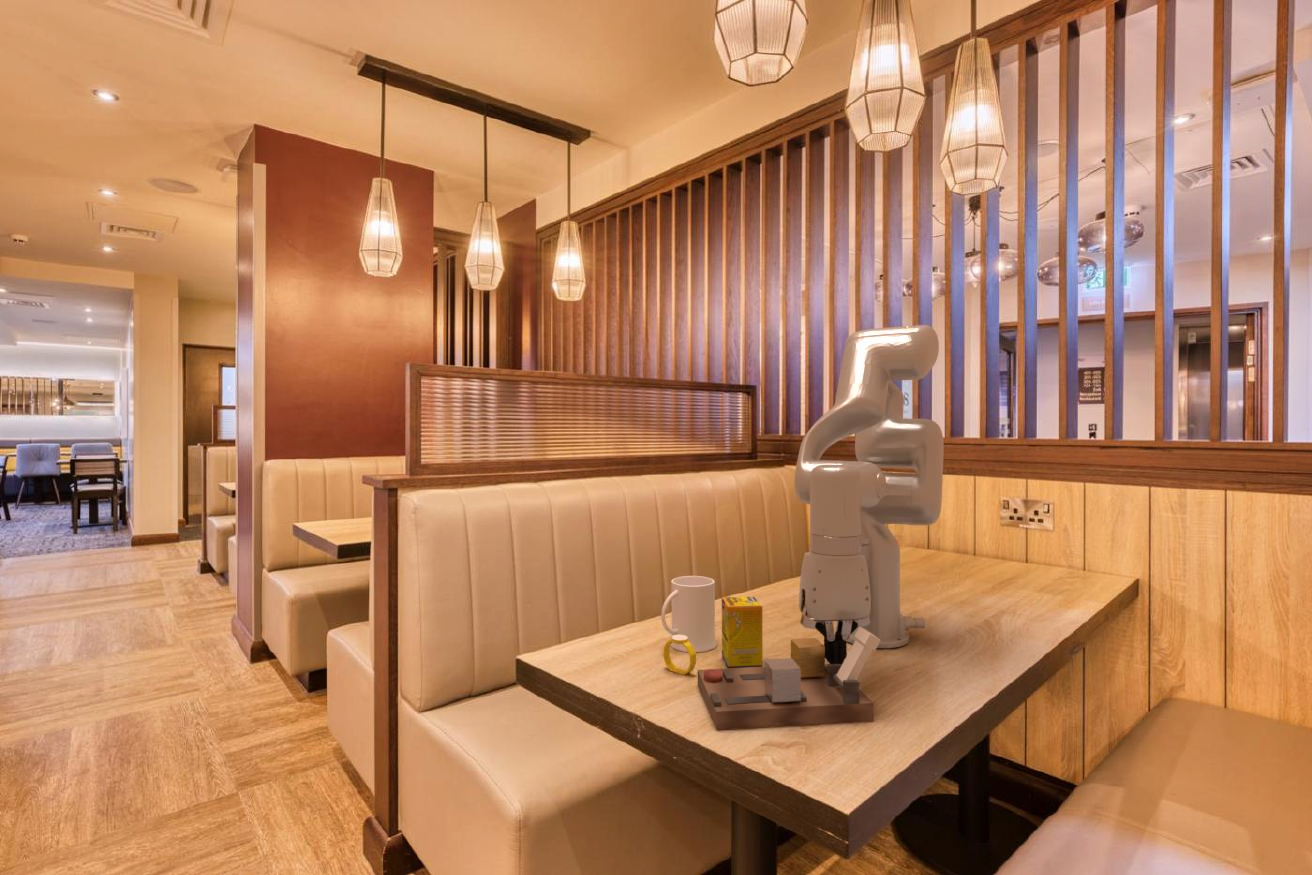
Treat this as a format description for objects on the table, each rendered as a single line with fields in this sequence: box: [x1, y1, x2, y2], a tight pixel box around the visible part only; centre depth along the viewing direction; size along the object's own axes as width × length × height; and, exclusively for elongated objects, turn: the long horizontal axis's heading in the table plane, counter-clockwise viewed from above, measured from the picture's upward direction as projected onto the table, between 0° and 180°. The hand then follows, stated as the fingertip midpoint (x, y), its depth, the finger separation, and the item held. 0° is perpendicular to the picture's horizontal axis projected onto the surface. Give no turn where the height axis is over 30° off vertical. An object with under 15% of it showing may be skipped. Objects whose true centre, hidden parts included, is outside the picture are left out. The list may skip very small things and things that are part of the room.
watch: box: [662, 635, 697, 676], centre depth 108 cm, size 6×3×6 cm, turn 51°
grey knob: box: [763, 657, 801, 702], centre depth 92 cm, size 4×4×4 cm
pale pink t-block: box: [833, 626, 881, 689], centre depth 93 cm, size 2×4×9 cm, turn 7°
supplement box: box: [721, 595, 764, 668], centre depth 111 cm, size 6×6×11 cm
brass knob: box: [790, 637, 826, 677], centre depth 100 cm, size 4×4×4 cm
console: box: [697, 662, 875, 731], centre depth 96 cm, size 22×15×6 cm
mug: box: [660, 575, 717, 653], centre depth 120 cm, size 12×8×12 cm
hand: (835, 663), depth 101 cm, fingers closed
